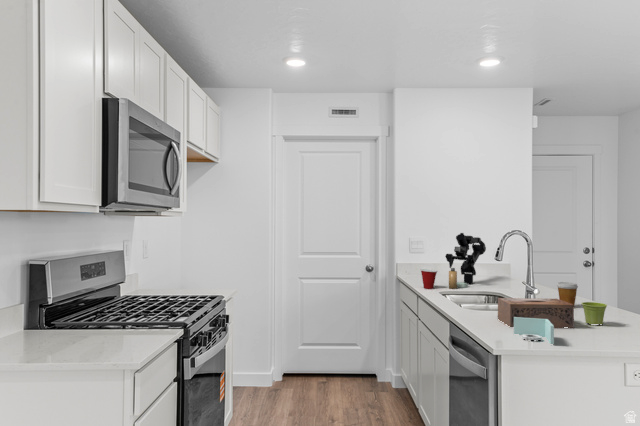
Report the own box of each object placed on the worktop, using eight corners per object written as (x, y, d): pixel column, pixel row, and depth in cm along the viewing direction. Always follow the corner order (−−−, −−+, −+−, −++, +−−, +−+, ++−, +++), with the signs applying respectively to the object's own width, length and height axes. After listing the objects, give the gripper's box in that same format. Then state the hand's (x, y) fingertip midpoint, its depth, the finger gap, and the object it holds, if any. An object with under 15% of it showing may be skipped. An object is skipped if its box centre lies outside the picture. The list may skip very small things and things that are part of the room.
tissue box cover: (556, 321, 207) (556, 298, 207) (573, 329, 192) (573, 304, 193) (497, 320, 208) (497, 298, 208) (510, 328, 193) (510, 304, 193)
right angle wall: (513, 336, 181) (513, 317, 181) (547, 339, 178) (547, 319, 178) (517, 344, 170) (517, 323, 170) (553, 347, 166) (553, 326, 166)
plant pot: (607, 328, 194) (606, 306, 194) (580, 325, 199) (580, 304, 199) (607, 323, 202) (607, 303, 202) (582, 321, 207) (582, 301, 207)
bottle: (451, 287, 305) (451, 267, 305) (458, 288, 301) (458, 268, 301) (447, 288, 301) (447, 268, 301) (454, 289, 297) (454, 268, 298)
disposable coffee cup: (577, 306, 242) (577, 282, 242) (578, 309, 233) (578, 285, 233) (556, 304, 246) (556, 281, 246) (557, 307, 237) (557, 284, 237)
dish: (455, 284, 317) (455, 281, 317) (470, 286, 308) (470, 283, 309) (446, 286, 309) (446, 283, 309) (461, 288, 301) (461, 284, 301)
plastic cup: (439, 289, 295) (439, 270, 295) (422, 289, 295) (422, 270, 295) (435, 287, 306) (435, 268, 306) (418, 287, 306) (418, 268, 306)
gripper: (446, 241, 316) (439, 259, 308) (473, 242, 305) (467, 260, 296) (451, 252, 323) (444, 270, 314) (478, 254, 311) (472, 272, 302)
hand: (456, 268), depth 306 cm, fingers open, 9 cm apart
